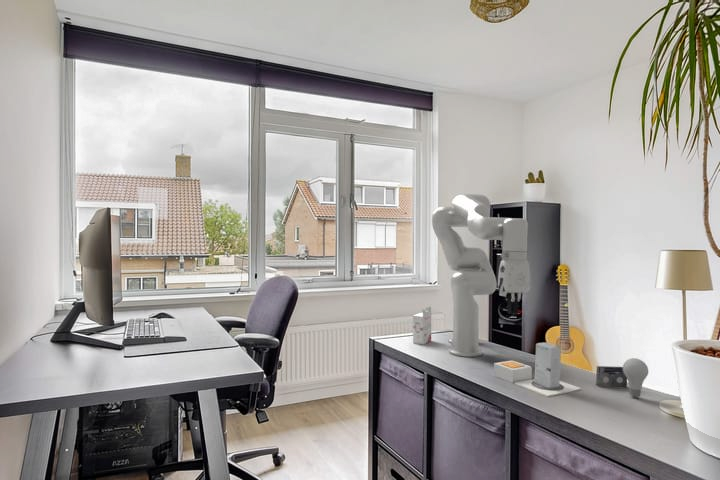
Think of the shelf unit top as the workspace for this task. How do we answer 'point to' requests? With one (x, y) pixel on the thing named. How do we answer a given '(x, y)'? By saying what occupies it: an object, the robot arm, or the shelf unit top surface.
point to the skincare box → (547, 365)
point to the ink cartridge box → (422, 327)
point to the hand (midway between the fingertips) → (512, 313)
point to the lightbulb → (635, 375)
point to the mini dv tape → (610, 377)
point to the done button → (512, 364)
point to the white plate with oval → (547, 391)
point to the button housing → (512, 372)
